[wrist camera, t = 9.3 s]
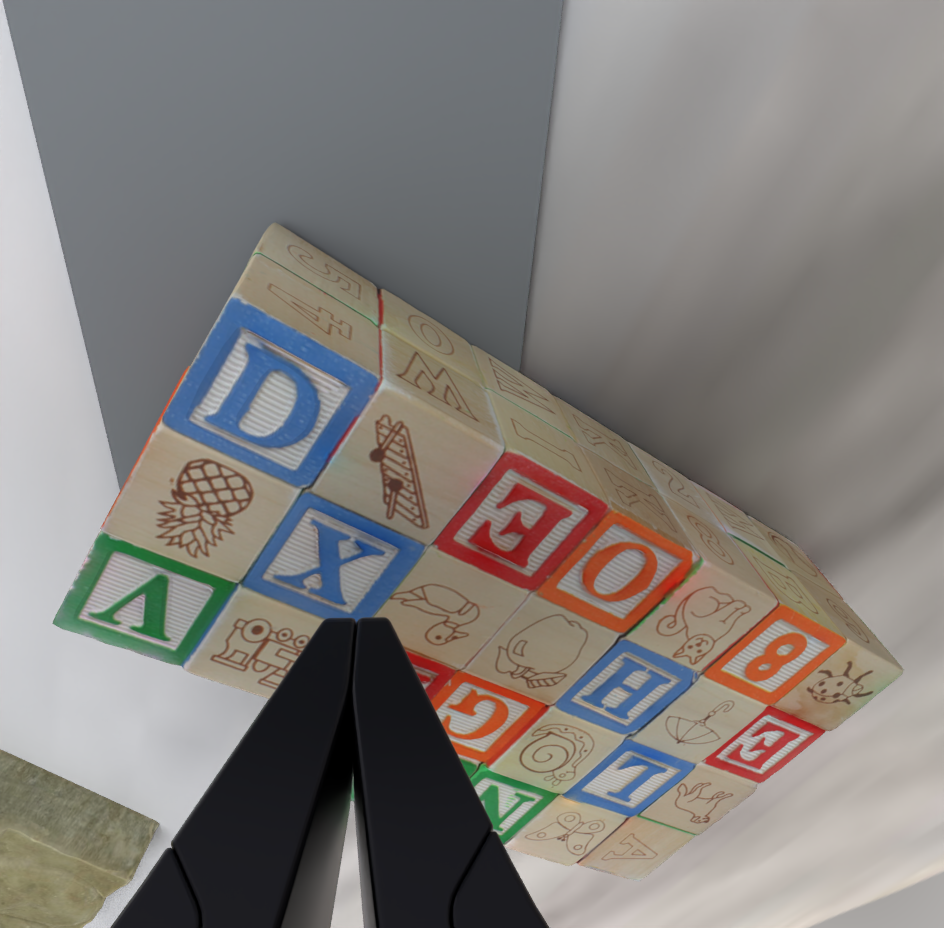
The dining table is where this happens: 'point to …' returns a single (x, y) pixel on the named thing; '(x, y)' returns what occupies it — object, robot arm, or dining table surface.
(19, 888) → the decorative tile
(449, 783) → the robot arm
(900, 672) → the stack of blocks
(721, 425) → the dining table surface
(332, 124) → the mat
